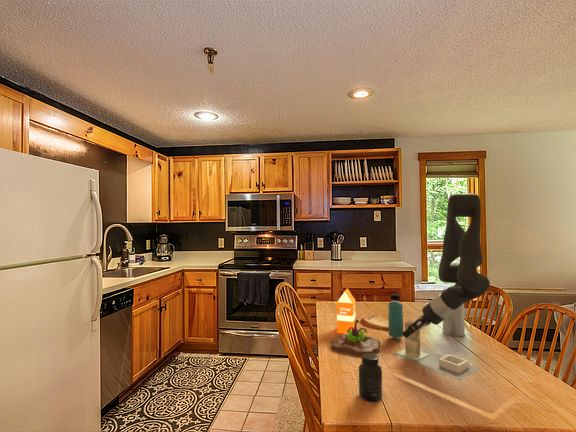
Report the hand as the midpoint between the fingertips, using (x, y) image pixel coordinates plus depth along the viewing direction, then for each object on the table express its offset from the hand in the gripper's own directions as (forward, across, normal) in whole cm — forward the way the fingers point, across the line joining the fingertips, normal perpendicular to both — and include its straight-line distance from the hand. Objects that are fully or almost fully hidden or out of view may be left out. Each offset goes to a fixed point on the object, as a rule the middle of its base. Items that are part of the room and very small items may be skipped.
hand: (408, 333), depth 126 cm
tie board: (0, 0, +13) cm, 13 cm away
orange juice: (+31, -8, -18) cm, 37 cm away
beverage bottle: (+15, -15, -2) cm, 21 cm away
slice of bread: (+26, -28, -13) cm, 40 cm away
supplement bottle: (+4, +37, +9) cm, 38 cm away
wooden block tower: (+4, 0, +6) cm, 8 cm away
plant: (+21, +6, -8) cm, 23 cm away
